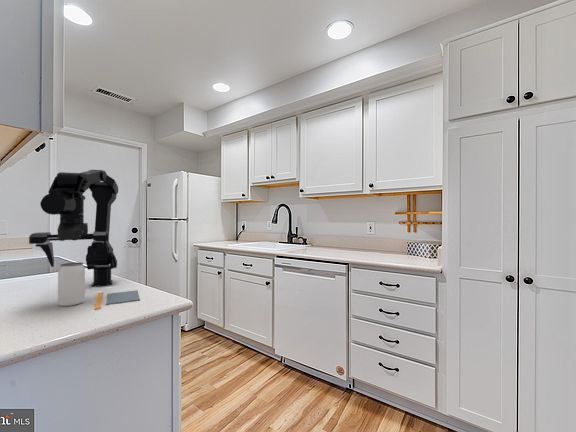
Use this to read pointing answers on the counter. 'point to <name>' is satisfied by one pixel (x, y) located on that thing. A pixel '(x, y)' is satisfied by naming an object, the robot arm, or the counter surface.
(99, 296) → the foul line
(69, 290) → the can
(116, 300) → the mat
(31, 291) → the counter surface
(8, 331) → the counter surface
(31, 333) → the counter surface
